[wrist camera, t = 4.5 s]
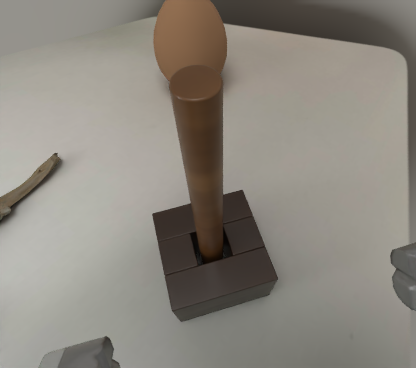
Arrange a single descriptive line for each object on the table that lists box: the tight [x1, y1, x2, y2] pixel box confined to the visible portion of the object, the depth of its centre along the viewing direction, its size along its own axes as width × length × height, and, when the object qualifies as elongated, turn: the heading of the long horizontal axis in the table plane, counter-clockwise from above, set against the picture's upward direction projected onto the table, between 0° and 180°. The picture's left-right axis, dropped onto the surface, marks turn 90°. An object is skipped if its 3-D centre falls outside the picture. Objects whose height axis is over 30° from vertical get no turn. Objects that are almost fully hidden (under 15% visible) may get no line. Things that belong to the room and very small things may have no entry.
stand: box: [152, 190, 278, 322], centre depth 25 cm, size 8×8×5 cm
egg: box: [154, 0, 227, 81], centre depth 35 cm, size 8×8×11 cm
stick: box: [169, 65, 223, 265], centre depth 19 cm, size 2×2×20 cm
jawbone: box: [0, 153, 60, 220], centre depth 29 cm, size 9×20×2 cm, turn 171°
